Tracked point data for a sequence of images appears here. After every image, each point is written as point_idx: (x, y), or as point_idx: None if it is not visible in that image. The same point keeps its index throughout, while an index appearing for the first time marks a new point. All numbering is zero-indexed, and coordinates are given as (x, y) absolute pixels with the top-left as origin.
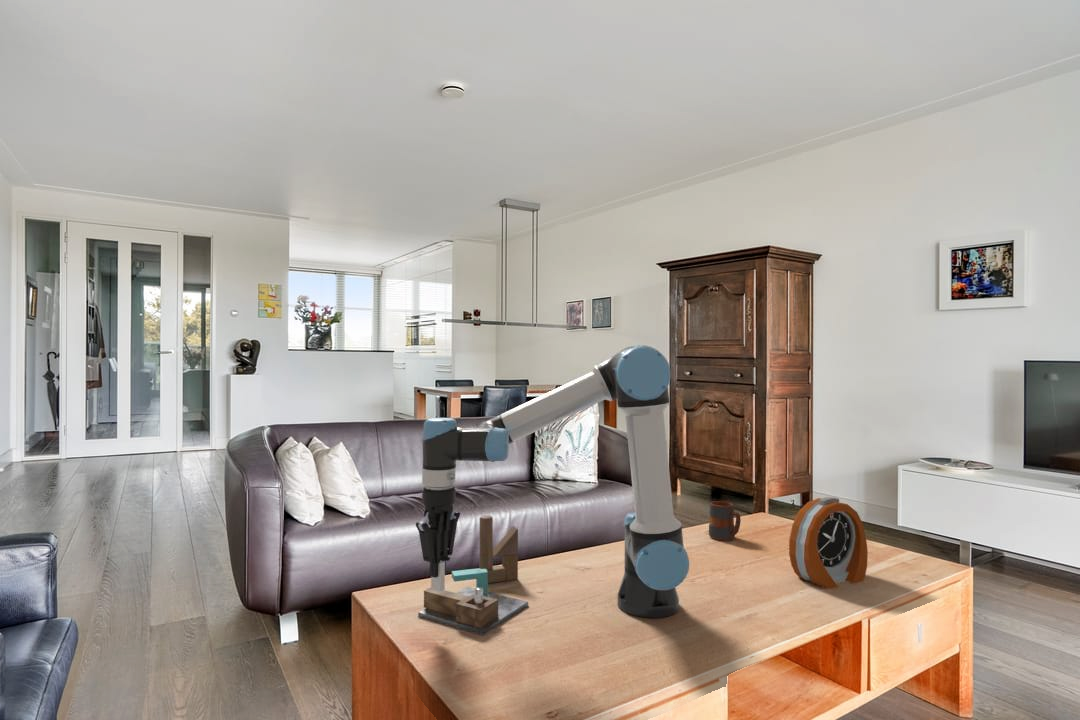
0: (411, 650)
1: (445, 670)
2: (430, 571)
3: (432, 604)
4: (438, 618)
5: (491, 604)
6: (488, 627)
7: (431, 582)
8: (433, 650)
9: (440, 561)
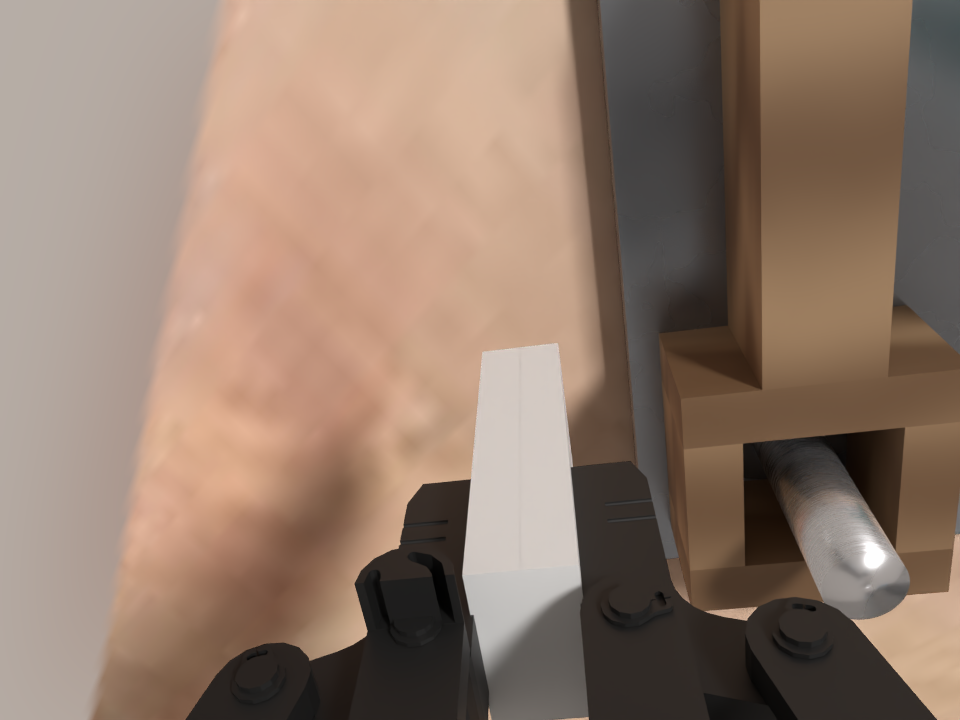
0: (199, 362)
1: (218, 637)
2: (404, 534)
3: (729, 7)
4: (614, 189)
5: None
6: None
7: (478, 397)
8: (301, 458)
9: (548, 679)
